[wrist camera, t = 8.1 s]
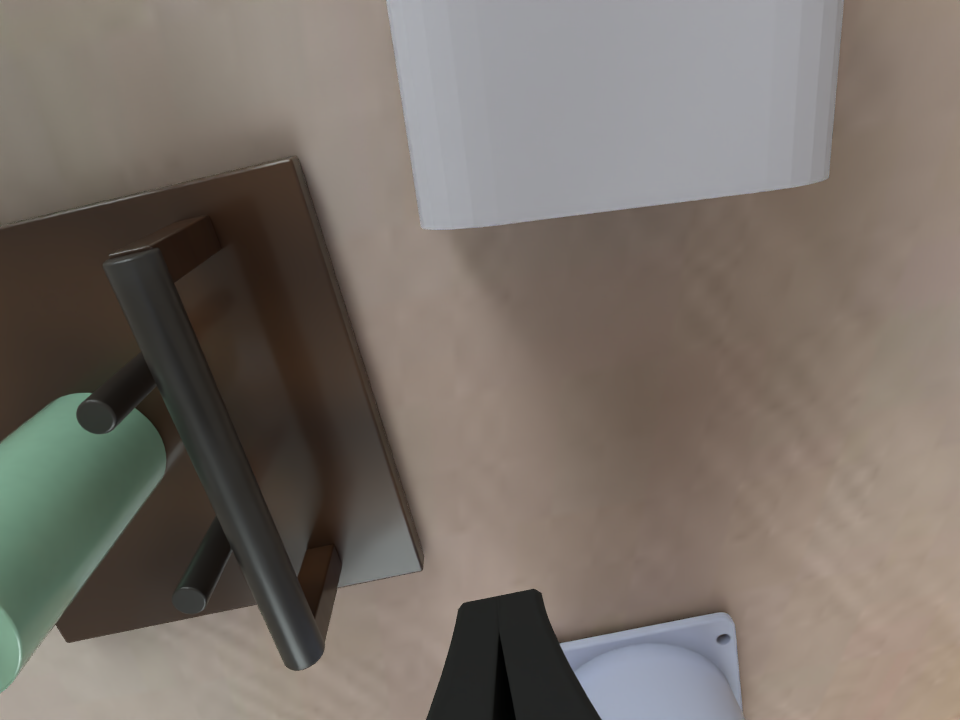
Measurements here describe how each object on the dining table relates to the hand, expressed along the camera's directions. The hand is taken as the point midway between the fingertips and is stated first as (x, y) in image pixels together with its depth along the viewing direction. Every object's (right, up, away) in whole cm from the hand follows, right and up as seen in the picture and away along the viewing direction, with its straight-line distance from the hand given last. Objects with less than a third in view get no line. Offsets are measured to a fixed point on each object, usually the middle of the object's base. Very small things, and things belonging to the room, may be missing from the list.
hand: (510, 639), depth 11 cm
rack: (-10, +3, +10) cm, 14 cm away
